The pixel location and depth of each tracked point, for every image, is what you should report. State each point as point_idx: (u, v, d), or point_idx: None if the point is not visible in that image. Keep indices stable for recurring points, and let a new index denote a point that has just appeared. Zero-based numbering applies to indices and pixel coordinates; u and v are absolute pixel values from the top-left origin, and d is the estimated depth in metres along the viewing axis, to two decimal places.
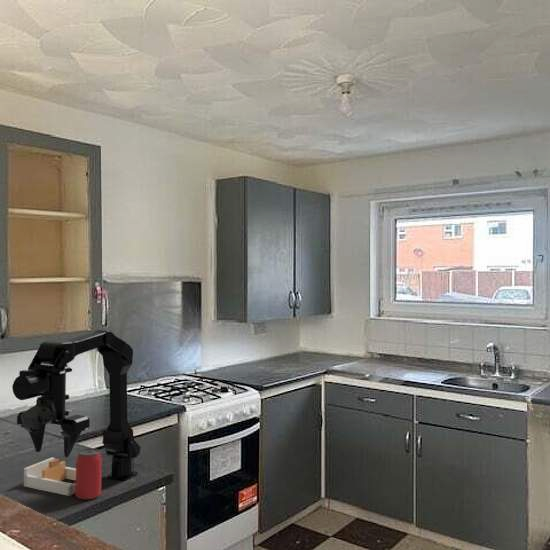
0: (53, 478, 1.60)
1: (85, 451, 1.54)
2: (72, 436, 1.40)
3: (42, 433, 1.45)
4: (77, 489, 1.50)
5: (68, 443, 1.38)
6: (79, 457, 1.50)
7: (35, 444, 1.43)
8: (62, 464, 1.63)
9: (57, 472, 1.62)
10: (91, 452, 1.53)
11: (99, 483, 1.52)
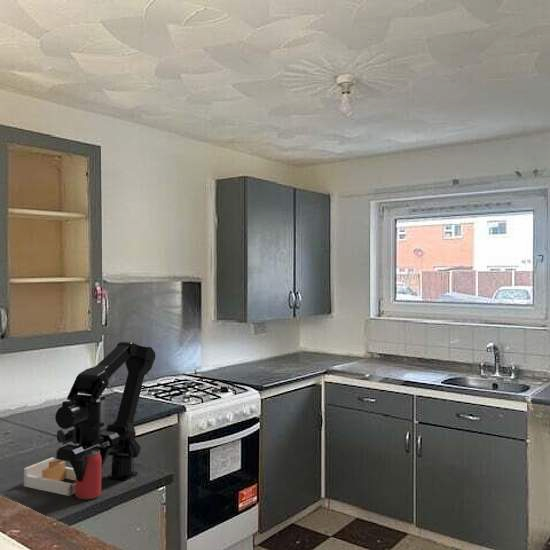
0: (53, 478, 1.60)
1: (85, 451, 1.54)
2: (78, 464, 1.48)
3: (102, 458, 1.56)
4: (77, 489, 1.50)
5: (74, 468, 1.49)
6: None
7: None
8: (62, 464, 1.63)
9: (57, 472, 1.62)
10: (91, 452, 1.53)
11: (98, 483, 1.52)
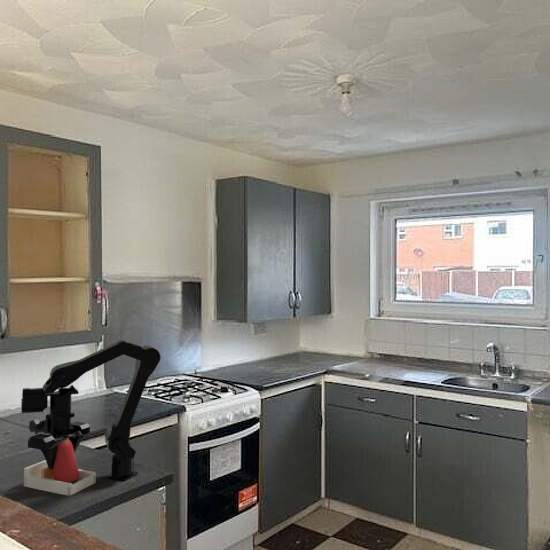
0: (52, 478, 1.60)
1: (55, 442, 1.61)
2: (49, 452, 1.56)
3: (73, 447, 1.63)
4: (55, 477, 1.57)
5: (45, 456, 1.56)
6: None
7: None
8: None
9: None
10: (61, 441, 1.61)
11: (74, 467, 1.59)
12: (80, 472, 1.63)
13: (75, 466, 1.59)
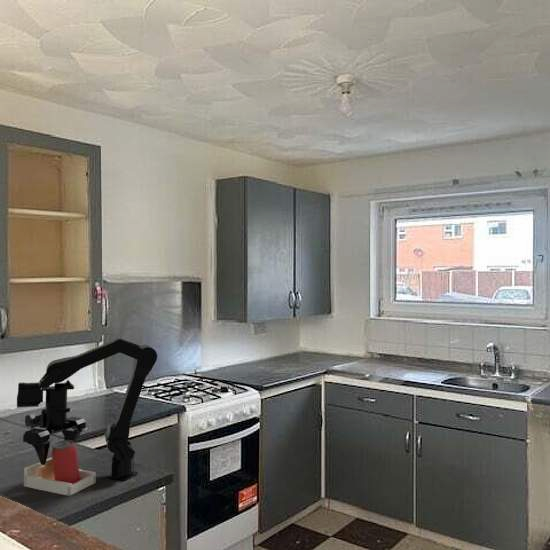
0: (49, 477, 1.61)
1: (60, 443, 1.58)
2: (41, 448, 1.55)
3: None
4: None
5: (37, 452, 1.56)
6: (53, 450, 1.56)
7: None
8: None
9: (53, 471, 1.62)
10: (65, 444, 1.58)
11: (75, 473, 1.57)
12: (80, 472, 1.63)
13: (76, 471, 1.58)
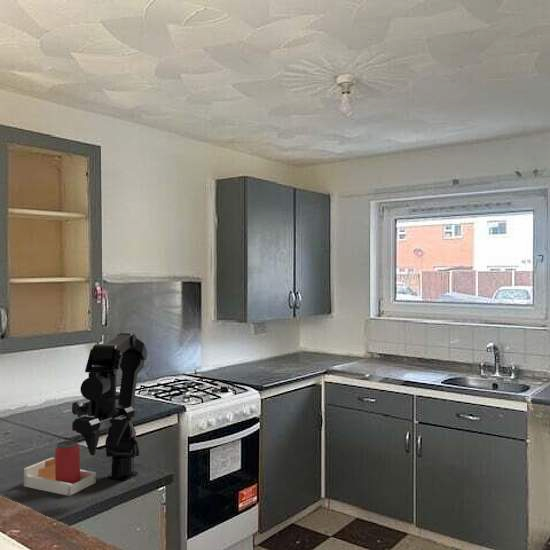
0: (49, 477, 1.61)
1: (64, 443, 1.60)
2: (91, 437, 1.45)
3: (120, 430, 1.55)
4: (56, 479, 1.57)
5: (86, 441, 1.46)
6: (57, 449, 1.57)
7: None
8: None
9: (53, 471, 1.62)
10: (69, 444, 1.59)
11: (76, 474, 1.58)
12: (80, 472, 1.63)
13: (77, 473, 1.58)
